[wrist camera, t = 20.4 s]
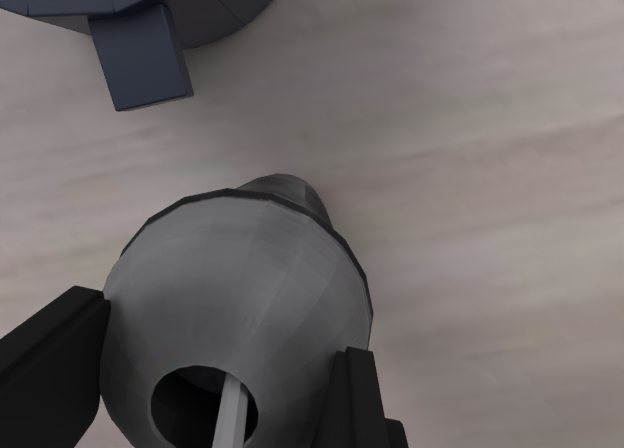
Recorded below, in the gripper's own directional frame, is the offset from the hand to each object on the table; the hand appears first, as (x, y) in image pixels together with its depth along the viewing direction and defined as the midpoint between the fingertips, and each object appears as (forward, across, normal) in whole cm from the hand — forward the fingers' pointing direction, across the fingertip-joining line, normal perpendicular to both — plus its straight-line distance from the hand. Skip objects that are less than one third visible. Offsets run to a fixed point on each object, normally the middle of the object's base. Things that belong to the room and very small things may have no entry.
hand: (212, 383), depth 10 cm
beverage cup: (+15, 0, 0) cm, 15 cm away
